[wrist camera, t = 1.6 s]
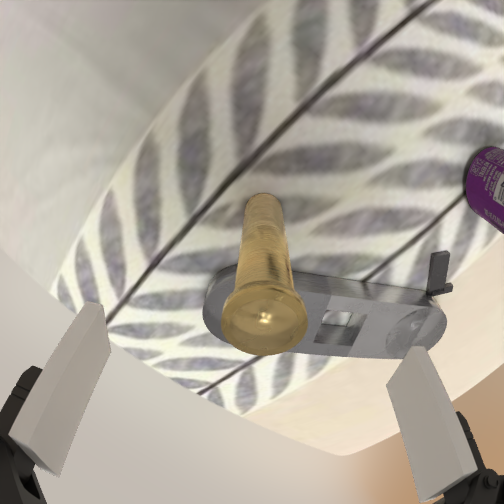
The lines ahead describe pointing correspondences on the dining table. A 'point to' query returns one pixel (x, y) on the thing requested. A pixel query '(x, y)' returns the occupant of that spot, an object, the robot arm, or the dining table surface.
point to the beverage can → (487, 186)
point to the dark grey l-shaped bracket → (438, 274)
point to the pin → (264, 286)
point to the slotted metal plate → (361, 322)
